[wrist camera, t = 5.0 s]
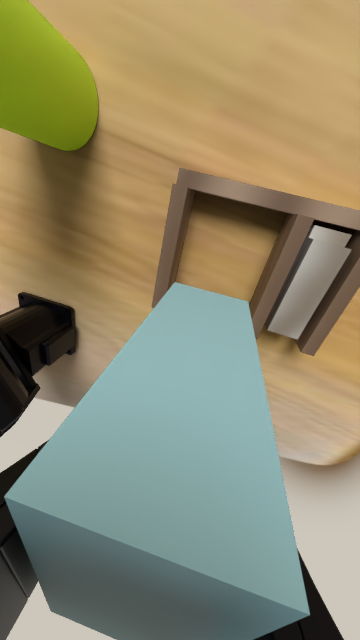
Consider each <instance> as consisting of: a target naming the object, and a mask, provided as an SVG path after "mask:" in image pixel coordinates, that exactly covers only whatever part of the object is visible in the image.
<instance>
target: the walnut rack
mask: <svg viewBox="0 0 360 640" xmlns="http://www.w3.org/2000/svg"><path fill="white" fill-rule="evenodd" d="M195 191H197V192H201V193H205V194H209V195H213V196H217V197H221V198H225V199H229V200H233V201H237V202H241V203H245V204H249V205H253V206H257V207H261V208H266V209H270V210H274V211H278V212H282V213H286V214H287V215H286V218H285V220H284V223H283V225H282V227H281V230H280V232H279V235H278V237H277V239H276V242H275V244H274V247H273V249H272V251H271V254H270V256H269V259H268V261H267V264H266V266H265V268H264V271H263V273H262V276H261V278H260V280H259V283H258V285H257V288H256V290H255V292H254V295H253V297H252V300H251V302H250V304H249V309H250V314H251V319H252V324H253V329H254V334H255V339H257V338H258V336H259V334H260V332H261V330H262V328H263V326H264V324H265V322H266V320H267V317H268V315H269V313H270V311H271V309H272V307H273V305H274V303H275V301H276V299H277V296H278V294H279V292H280V290H281V288H282V286H283V284H284V282H285V280H286V278H287V275H288V273H289V271H290V269H291V267H292V265H293V263H294V261H295V259H296V257H297V254H298V252H299V250H300V248H301V246H302V244H303V242H304V240H305V238H306V236H307V233H308V231H309V229H310V227H311V225H312V223H313V221H318V222H322V223H326V224H330V225H334V226H339V227H343V228H347V229H350V231H349V233H348V234H351V235H352V236H351V237H350V239H349V241H348V242H347V244H346V246H345V248H348V249H351V252H350V254H349V255H348V257H347V259H346V260H345V262H344V264H343V265H342V267H341V269H340V270H339V272H338V273H337V275H336V277H335V278H334V280H333V282H332V283H331V285H330V287H329V288H328V290H327V292H326V293H325V295H324V297H323V298H322V300H321V302H320V303H319V305H318V306H317V308H316V310H315V311H314V313H313V315H312V316H311V318H310V320H309V321H308V323H307V325H306V326H305V328H304V330H303V331H302V333H301V335H300V336H299V338H298V340H297V339H295V341H296V343H297V345H298V347H299V349H300V351H301V352H302V353H305V354H308V355H312V356H314V355H315V353H316V352H317V350H318V349H319V347H320V346H321V344H322V343H323V341H324V340H325V338H326V337H327V335H328V334H329V332H330V331H331V329H332V328H333V326H334V325H335V323H336V322H337V320H338V319H339V317H340V316H341V314H342V313H343V311H344V309H345V308H346V306H347V305H348V303H349V302H350V300H351V299H352V297H353V296H354V294H355V293H356V291H357V290H358V288H359V287H360V211H359V210H355V209H351V208H347V207H343V206H338V205H334V204H330V203H326V202H322V201H317V200H313V199H309V198H305V197H301V196H296V195H292V194H288V193H284V192H280V191H275V190H271V189H267V188H263V187H259V186H254V185H250V184H246V183H242V182H238V181H233V180H229V179H225V178H221V177H217V176H212V175H208V174H204V173H200V172H196V171H191V170H187V169H183V168H179V173H178V179H177V184H173V185H172V191H171V197H170V203H169V209H168V214H167V220H166V226H165V232H164V238H163V244H162V249H161V255H160V261H159V267H158V273H157V279H156V284H155V290H154V296H153V302H152V308H155V306H156V305H157V304H158V303H159V301H160V300H161V299H162V297H163V296H164V295H165V294H166V292H167V291H168V290H169V289H170V287H171V286H172V285H173V284H174V282H175V281H176V276H177V271H178V267H179V262H180V258H181V253H182V248H183V244H184V239H185V235H186V230H187V225H188V221H189V216H190V212H191V207H192V202H193V198H194V193H195Z"/></svg>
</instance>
